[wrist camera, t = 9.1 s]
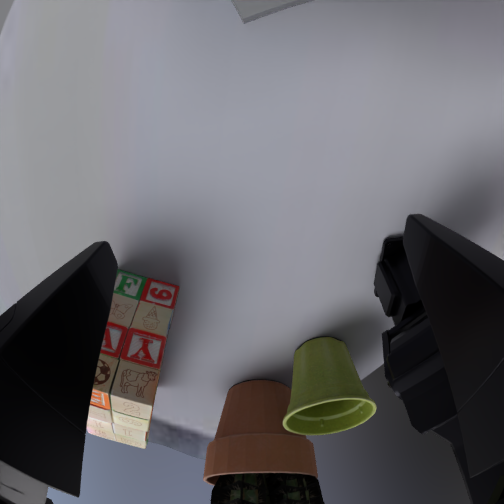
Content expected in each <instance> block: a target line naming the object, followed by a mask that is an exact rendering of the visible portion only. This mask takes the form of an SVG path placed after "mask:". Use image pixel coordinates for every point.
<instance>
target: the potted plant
mask: <svg viewBox="0 0 504 504" xmlns="http://www.w3.org/2000/svg"><path fill="white" fill-rule="evenodd" d="M290 399H291V390H290V388H289V387H287V386H286V385H284V384H282V383H279V382H275V381H269V380H251V381H246V382H242V383H240V384H237V385H235V386H233V387H232V388H231V389H229V391H228V394H227V397H226V401H225V404H224V408H223V411H222V415H221V418H220V422H219V425H218V429H217V432H216V435H215V439H214V441H212V442H210V443H209V445H208V447H207V454H206V462H205V470H204V477H203V480H204V481H205V482H207V483H208V484H211V485H214V488H213V490H212V495H211V504H324V502H323V498H322V494H321V489H320V485H319V482H318V479H317V477H318V474H317V467H316V460H315V453H314V447H313V443H312V442H311V441H309V440H308V439H306V435H301V434H296V433H293V432H290V431H288V430H286V429H285V428H284V426H283V418H284V417H285V415H286V414H287V409H288V406H289V404H290Z"/></svg>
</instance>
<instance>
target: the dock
mask: <svg viewBox="0 0 504 504" xmlns="http://www.w3.org/2000/svg"><path fill="white" fill-rule="evenodd" d="M310 1H313V0H232V2H233V4H234V6H235V8H236V10H237V12H238V13H239V15H240V17H241V19H242V21H243V23H244V24H245V23H247V22H250V21H252V20H255V19H258V18H260V17H263V16H266V15H269V14H272V13H274V12H277V11H280V10H283V9H286V8H289V7H293V6H296V5H299V4H303V3H306V2H310Z"/></svg>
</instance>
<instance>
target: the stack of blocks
mask: <svg viewBox="0 0 504 504" xmlns="http://www.w3.org/2000/svg"><path fill="white" fill-rule="evenodd" d="M178 292H179V286H176V285H172V284H169V283H165V282H161V281H158V280H154V279H151V278H146V277H142V276H139V275H135V274H132V273H128V272H125V271H122V270H119V269H118V271H117V276H116V281H115V287H114V293H113V299H112V305H111V310H110V314H109V319H108V322H107V326H106V330H105V335H104V339H103V343H102V347H101V352H100V356H99V361H98V365H97V370H96V375H95V380H94V385H93V391H92V396H91V402H90V408H89V414H88V421H87V430H88V432H89V433H90V434H93V435H96V436H100V437H103V438H106V439H110V440H113V441H117V442H120V443H124V444H128V445H132V446H136V447H140V448H144V449H146V445H147V442H148V436H149V430H150V423H151V417H152V411H153V405H154V400H155V395H156V390H157V385H158V380H159V375H160V370H161V365H162V360H163V355H164V350H165V345H166V340H167V335H168V331H169V329H170V325H171V321H172V317H173V313H174V309H175V304H176V300H177V296H178Z"/></svg>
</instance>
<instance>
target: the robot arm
mask: <svg viewBox="0 0 504 504" xmlns="http://www.w3.org/2000/svg"><path fill="white" fill-rule="evenodd" d="M390 243H391V244H390ZM388 244H390V245H389V246H387V245H388ZM117 271H118V264H117V261H116V258H115V256H114V254H113V251H112V249H111V247H110V244H109V243H108V242H107V241H101V242H95V243H93V244H92V245H91V246H89V247H88V248H86V249H85V250H84V251H82V252H81V253H79V254H78V255H77V256H75V257H74V258H73V259H71V260H70V261H69V262H67V263H66V264H64V265H63V266H62V267H60V268H59V269H58V270H57V271H55V272H54V273H53V274H51V275H50V276H49V277H47V278H46V279H45V280H44V281H42V282H41V283H40V284H38V285H37V286H36V287H35V288H33V289H32V290H31V291H30V292H28V293H27V294H26V295H25V296H23V297H22V298H21V299H20V300H19V301H17V304H16V303H15V304H14V305H13V306H11V307H10V308H9V309H8V310H7V311H5V312H4V313H3V314H2V315H1V316H0V504H53V502H52V500H51V499H49V498H46V496H47V491H48V487H51V488H53V489H56V490H59V491H62V492H64V493H67V494H70V495H73V496H76V497H79V495H80V484H81V471H82V461H83V452H84V443H85V434H86V428H87V421H88V414H89V408H90V402H91V396H92V391H93V385H94V380H95V375H96V370H97V365H98V361H99V356H100V352H101V347H102V343H103V339H104V335H105V330H106V326H107V322H108V319H109V314H110V310H111V305H112V299H113V293H114V287H115V281H116V276H117ZM374 286H375V290H374V293H375V296H376V297H379V299H380V301H381V304H382V307H383V309H384V312H385V315H386V316H387V317H392V319H393V321H394V324H395V326H394V327H393V328H391V329H390V330H386V331H385V332H383V333H382V341H383V343H382V344H383V355H384V367H385V377H386V379H387V381H388V385H389V387H390V388H392V389H393V391H394V392H395V394H396V395H397V396H398V397H399V398H400V399H401V400H403V402H404V404H405V407H406V409H407V412H408V415H409V418H410V421H411V424H412V426H413V427H414V428H415V429H416V430H418V431H419V432H420V433H421V434H426V433H428V432H430V431H431V432H432V433H434V434H435V435H437V436H439V437H440V438H442V439H443V440H445V441H447V442H448V443H450V445H451V447H452V449H453V452H454V454H455V457H456V460H457V463H458V465H459V468H460V471H461V474H462V477H463V480H464V483H465V486H466V489H467V493H468V496H469V499H470V502H471V504H504V261H503V260H502V259H500V258H499V257H497V256H495V255H494V254H492V253H490V252H489V251H487V250H485V249H484V248H482V247H480V246H479V245H477V244H475V243H473V242H472V241H470V240H468V239H466V238H465V237H463V236H461V235H459V234H458V233H456V232H454V231H452V230H450V229H448V228H447V227H445V226H443V225H441V224H439V223H437V222H435V221H433V220H431V219H430V218H428V217H426V216H424V215H422V214H411V215H409V216H408V217H407V220H406V225H405V231H404V236H403V237H399V238H388V239H386V240H385V241H384V242H383V247H382V253H381V258H380V261H379V262H378V264H377V269H376V275H375V280H374Z"/></svg>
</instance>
